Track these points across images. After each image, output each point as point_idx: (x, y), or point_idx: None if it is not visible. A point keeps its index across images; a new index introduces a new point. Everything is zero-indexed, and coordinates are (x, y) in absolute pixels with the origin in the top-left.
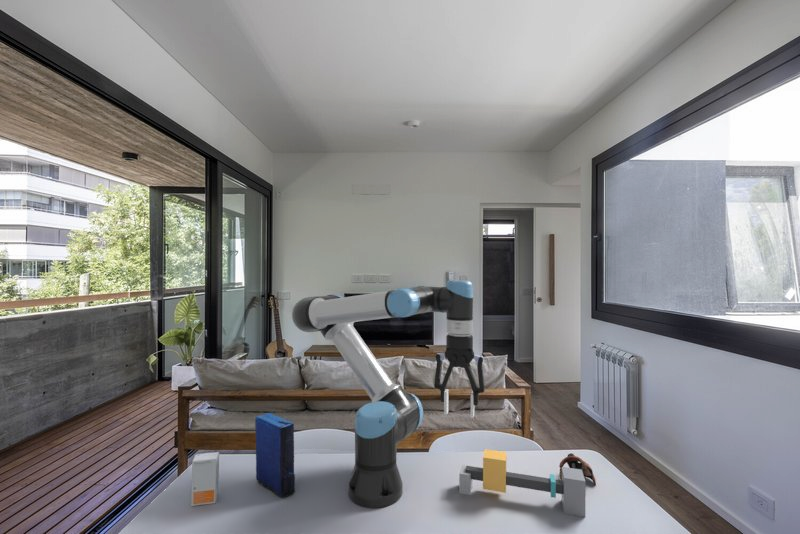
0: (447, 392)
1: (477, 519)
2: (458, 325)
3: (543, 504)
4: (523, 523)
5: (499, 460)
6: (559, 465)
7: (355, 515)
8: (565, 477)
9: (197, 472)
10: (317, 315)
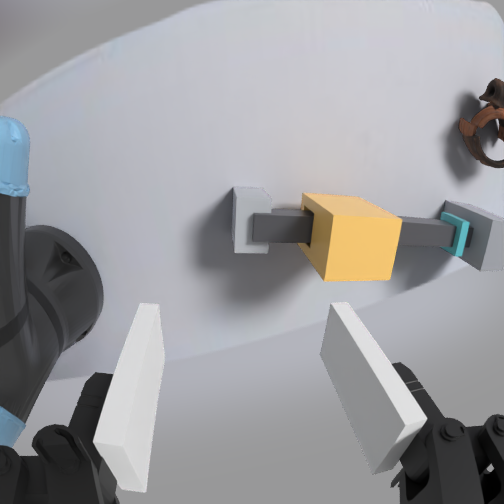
0: (138, 460)
1: (279, 313)
2: None
3: None
4: (364, 297)
5: (372, 278)
6: (479, 124)
7: (63, 353)
8: (482, 267)
9: None
10: None
